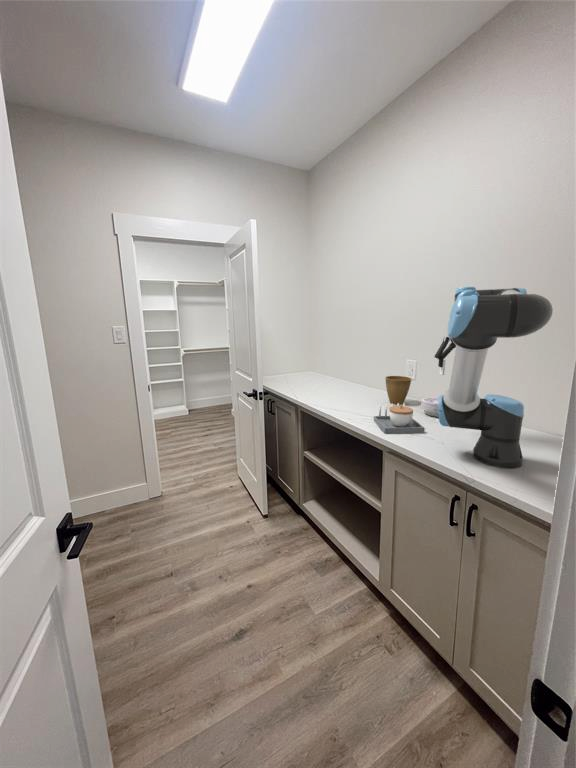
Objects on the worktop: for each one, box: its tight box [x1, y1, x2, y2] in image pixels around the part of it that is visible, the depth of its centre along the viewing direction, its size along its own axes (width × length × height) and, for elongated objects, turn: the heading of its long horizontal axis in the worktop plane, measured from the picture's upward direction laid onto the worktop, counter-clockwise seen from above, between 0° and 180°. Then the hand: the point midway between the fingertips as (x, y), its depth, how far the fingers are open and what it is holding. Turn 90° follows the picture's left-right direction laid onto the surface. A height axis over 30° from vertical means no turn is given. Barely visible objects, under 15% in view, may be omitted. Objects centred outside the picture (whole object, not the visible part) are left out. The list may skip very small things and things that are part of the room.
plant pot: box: [384, 375, 412, 406], centre depth 187 cm, size 15×15×16 cm
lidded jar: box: [388, 404, 414, 427], centre depth 147 cm, size 11×11×9 cm
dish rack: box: [373, 402, 425, 435], centre depth 148 cm, size 18×18×9 cm
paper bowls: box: [420, 397, 439, 418], centre depth 166 cm, size 15×15×8 cm
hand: (457, 374), depth 135 cm, fingers open, 13 cm apart
